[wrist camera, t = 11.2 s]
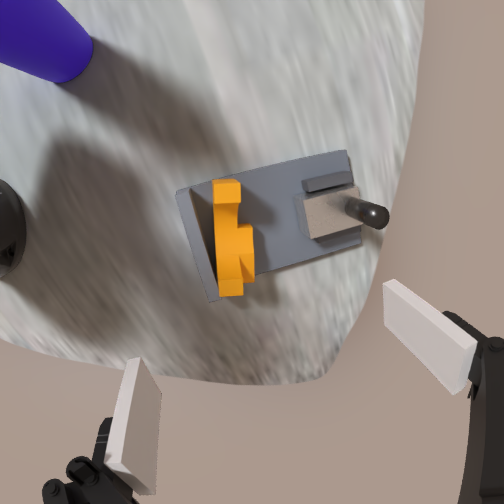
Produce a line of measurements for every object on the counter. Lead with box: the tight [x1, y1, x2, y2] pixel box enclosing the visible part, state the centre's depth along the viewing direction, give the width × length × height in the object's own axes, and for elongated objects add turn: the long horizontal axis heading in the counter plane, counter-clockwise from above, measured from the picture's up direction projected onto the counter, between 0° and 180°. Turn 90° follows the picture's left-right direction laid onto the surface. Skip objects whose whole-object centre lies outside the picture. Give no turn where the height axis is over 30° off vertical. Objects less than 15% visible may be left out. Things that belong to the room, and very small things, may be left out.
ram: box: [293, 184, 389, 239], centre depth 33 cm, size 7×5×10 cm, turn 104°
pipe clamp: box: [212, 179, 254, 297], centre depth 34 cm, size 12×4×6 cm, turn 1°
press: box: [175, 150, 361, 303], centre depth 37 cm, size 22×13×6 cm, turn 104°
